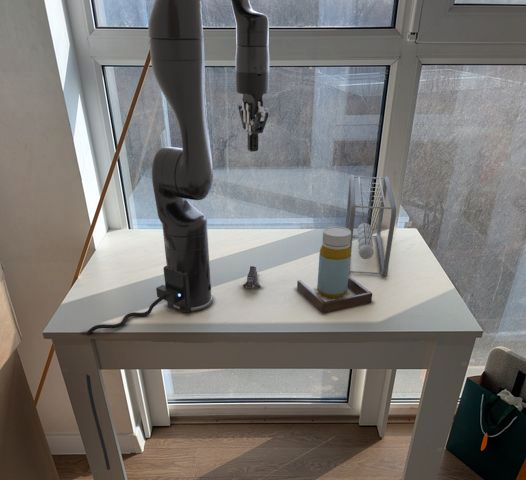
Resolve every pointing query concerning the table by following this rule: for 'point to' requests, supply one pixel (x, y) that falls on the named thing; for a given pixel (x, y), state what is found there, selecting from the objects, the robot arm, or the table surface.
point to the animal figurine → (252, 279)
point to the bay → (338, 304)
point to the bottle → (334, 262)
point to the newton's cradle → (364, 228)
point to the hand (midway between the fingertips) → (252, 150)
